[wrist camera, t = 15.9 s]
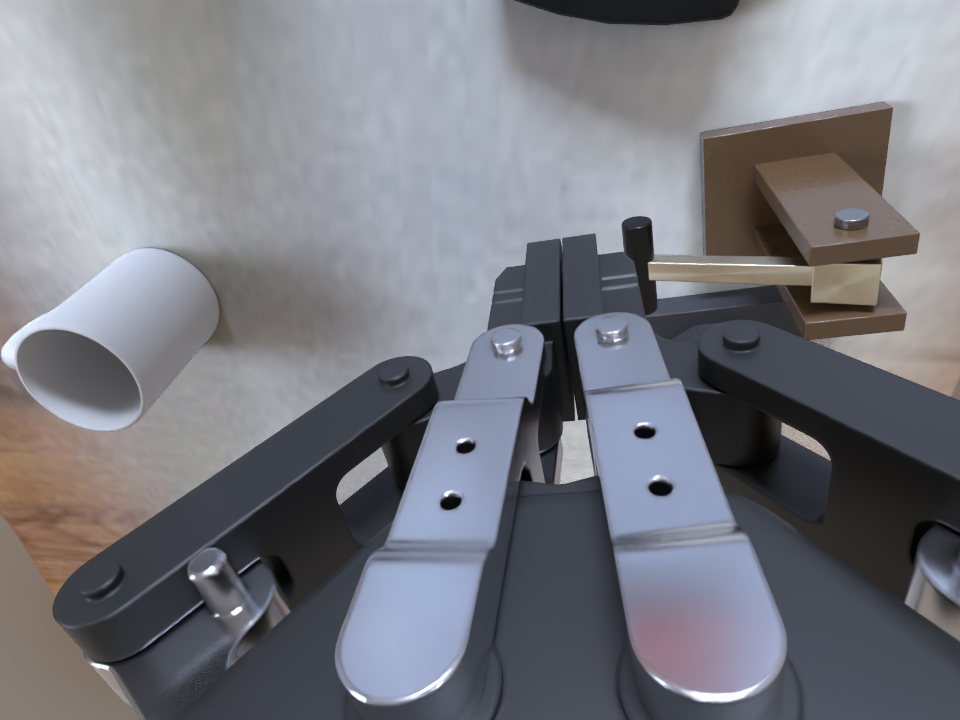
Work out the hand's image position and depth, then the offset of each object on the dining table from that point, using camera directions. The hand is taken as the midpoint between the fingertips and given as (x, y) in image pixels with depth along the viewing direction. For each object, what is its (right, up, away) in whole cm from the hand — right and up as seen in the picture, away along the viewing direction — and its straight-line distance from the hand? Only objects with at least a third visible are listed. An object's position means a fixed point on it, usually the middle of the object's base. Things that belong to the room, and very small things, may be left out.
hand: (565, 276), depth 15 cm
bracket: (+17, +8, +26) cm, 32 cm away
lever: (+12, +3, +20) cm, 24 cm away
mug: (-28, +3, +36) cm, 46 cm away
